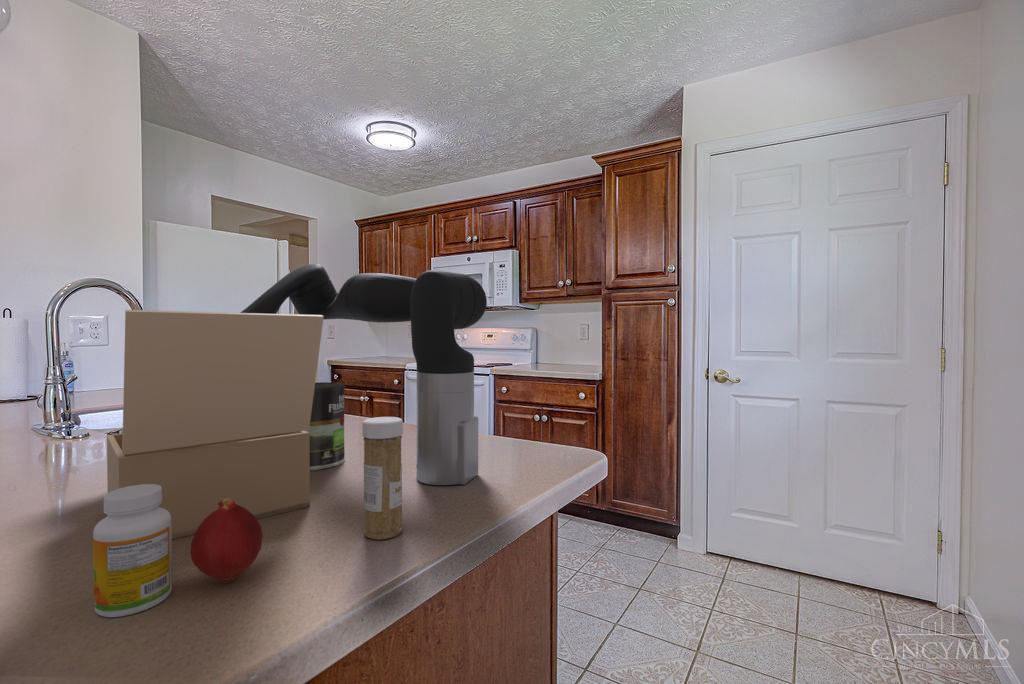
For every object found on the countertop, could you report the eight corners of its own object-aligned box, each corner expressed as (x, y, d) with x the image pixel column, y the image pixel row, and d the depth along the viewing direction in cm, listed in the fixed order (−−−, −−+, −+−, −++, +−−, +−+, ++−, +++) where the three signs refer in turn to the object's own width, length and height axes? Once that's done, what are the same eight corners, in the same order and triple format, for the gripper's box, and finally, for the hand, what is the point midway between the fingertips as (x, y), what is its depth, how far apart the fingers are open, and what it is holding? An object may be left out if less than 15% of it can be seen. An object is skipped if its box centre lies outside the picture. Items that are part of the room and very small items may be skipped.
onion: (212, 567, 48) (212, 488, 48) (272, 565, 49) (272, 486, 49) (177, 599, 42) (176, 509, 42) (245, 596, 43) (245, 507, 43)
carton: (107, 511, 63) (106, 435, 63) (271, 479, 77) (271, 417, 77) (119, 552, 51) (118, 459, 51) (309, 506, 65) (309, 432, 65)
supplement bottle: (106, 592, 44) (105, 485, 43) (178, 580, 46) (177, 478, 46) (83, 625, 39) (81, 505, 38) (164, 610, 41) (163, 496, 41)
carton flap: (125, 309, 48) (125, 311, 47) (321, 315, 61) (323, 316, 60) (122, 452, 51) (122, 454, 51) (307, 427, 65) (309, 429, 64)
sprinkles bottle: (408, 535, 56) (408, 419, 56) (369, 544, 54) (369, 424, 53) (395, 522, 60) (394, 414, 60) (357, 530, 57) (357, 417, 57)
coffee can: (353, 455, 92) (353, 382, 92) (332, 471, 82) (332, 388, 81) (299, 455, 92) (299, 381, 92) (271, 471, 82) (271, 388, 81)
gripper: (138, 357, 65) (156, 359, 52) (247, 354, 74) (285, 355, 61) (138, 413, 65) (158, 429, 52) (247, 403, 74) (286, 415, 61)
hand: (227, 389), depth 57 cm, fingers closed
